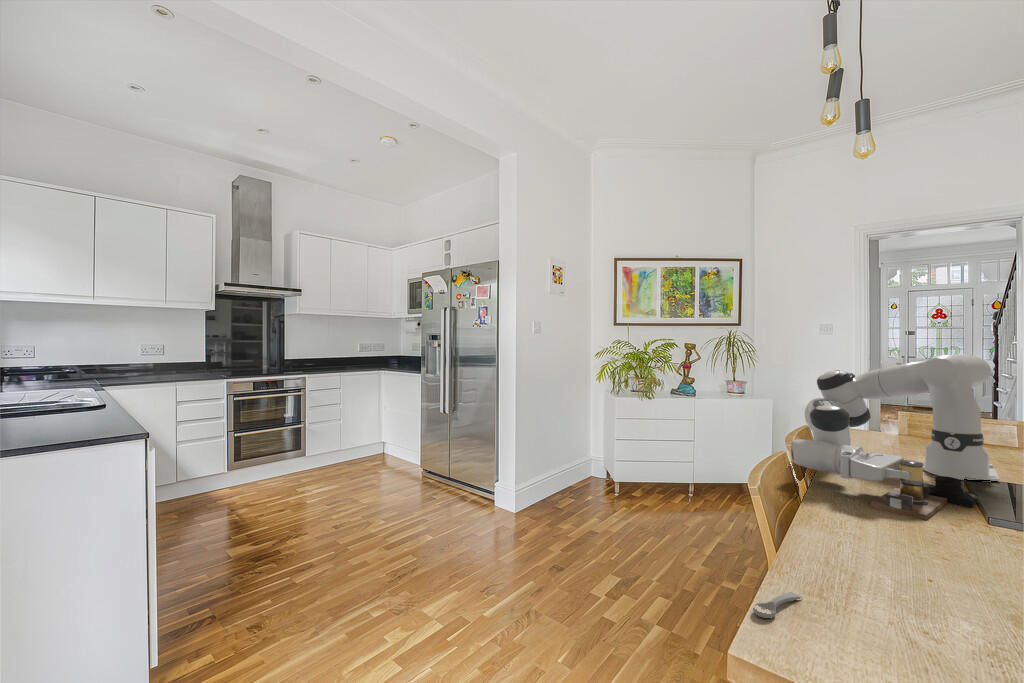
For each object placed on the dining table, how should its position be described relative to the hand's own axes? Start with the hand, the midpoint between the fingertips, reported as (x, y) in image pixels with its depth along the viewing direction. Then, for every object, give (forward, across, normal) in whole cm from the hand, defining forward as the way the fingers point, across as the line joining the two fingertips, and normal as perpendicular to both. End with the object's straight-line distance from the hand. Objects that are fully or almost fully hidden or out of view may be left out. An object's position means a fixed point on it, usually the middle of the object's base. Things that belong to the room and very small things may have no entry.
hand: (915, 472), depth 119 cm
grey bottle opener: (0, +77, -9) cm, 77 cm away
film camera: (+3, -13, -9) cm, 17 cm away
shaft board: (-1, 0, -9) cm, 9 cm away
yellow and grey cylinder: (-1, 0, -8) cm, 8 cm away
